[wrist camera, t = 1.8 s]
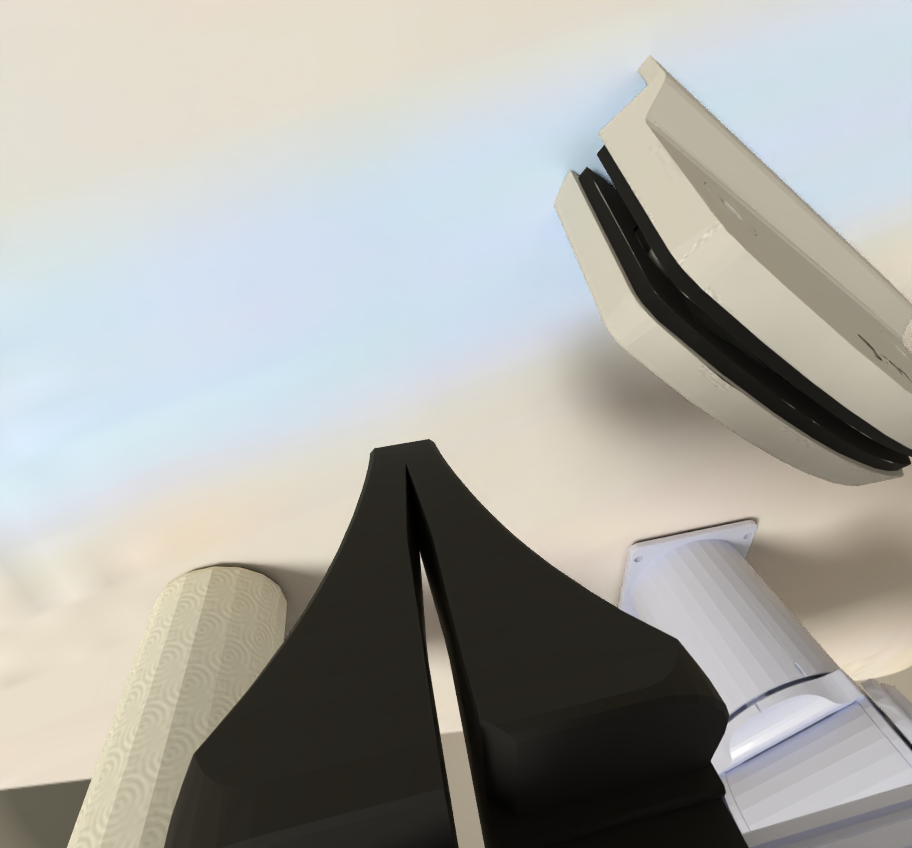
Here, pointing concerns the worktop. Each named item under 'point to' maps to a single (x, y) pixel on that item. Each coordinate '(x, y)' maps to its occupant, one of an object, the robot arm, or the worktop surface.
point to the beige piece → (741, 291)
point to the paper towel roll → (178, 699)
